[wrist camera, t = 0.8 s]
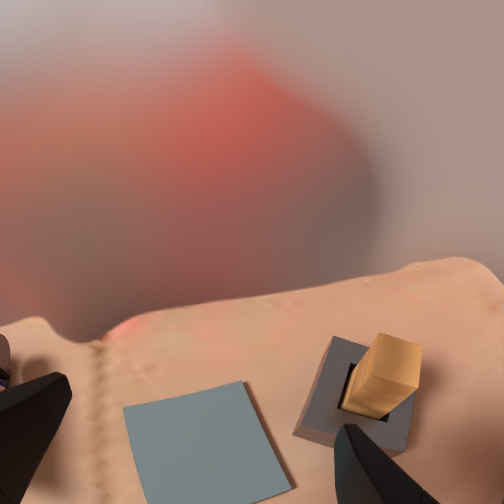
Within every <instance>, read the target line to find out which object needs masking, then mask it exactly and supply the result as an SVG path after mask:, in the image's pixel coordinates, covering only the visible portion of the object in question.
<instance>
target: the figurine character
mask: <svg viewBox="0 0 504 504" xmlns="http://www.w3.org/2000/svg"><path fill="white" fill-rule="evenodd" d="M9 360H10V347H9V343H8V341H7V339H6V337H5V336H4V335H2V334H0V379H2V380H3V383H2V382H0V391H2V390H5V389H6V387H7V383H8V379H9V375H10V372H9V369H8V370H7V371H6V372H5V371H4V370H3V369H2V368H5V367H6V366H7V365H8V363H9Z"/></svg>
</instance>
